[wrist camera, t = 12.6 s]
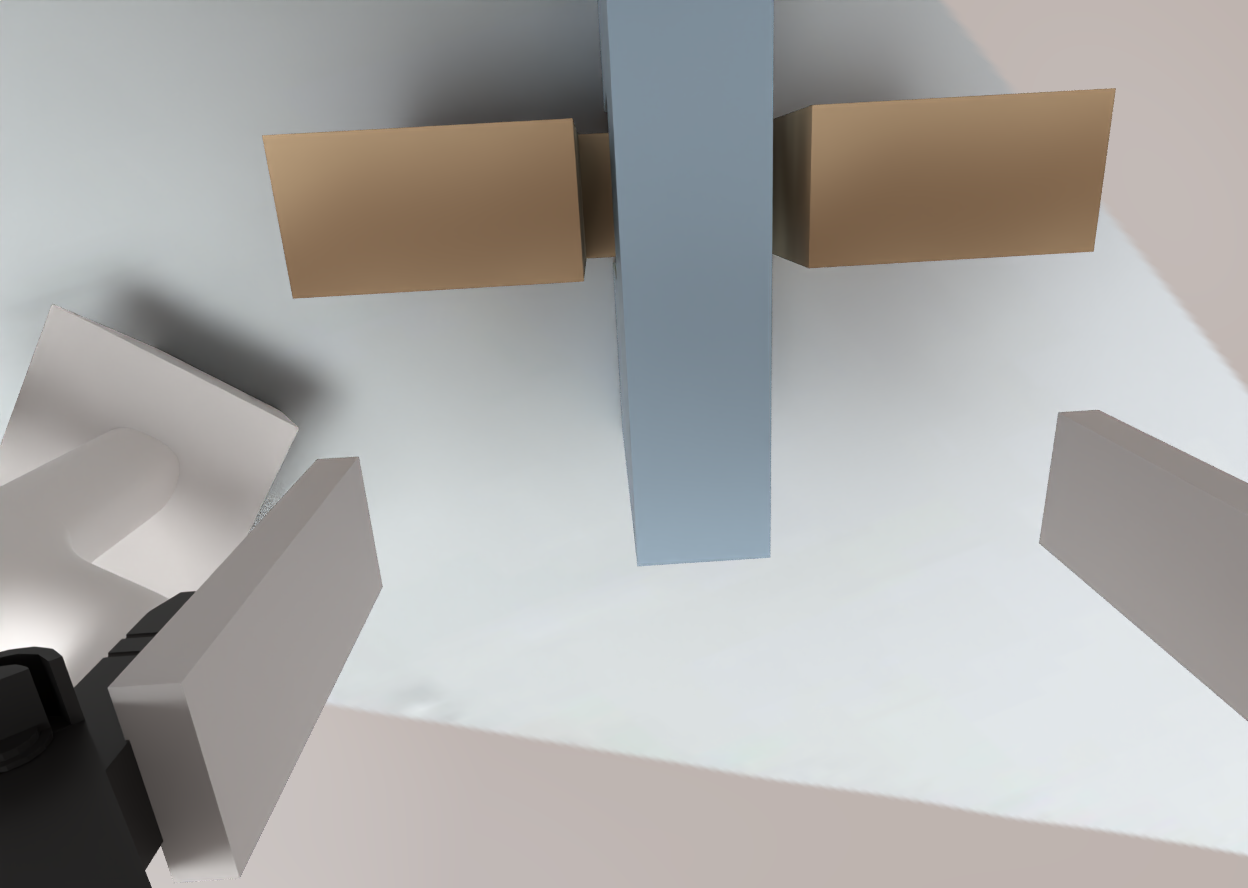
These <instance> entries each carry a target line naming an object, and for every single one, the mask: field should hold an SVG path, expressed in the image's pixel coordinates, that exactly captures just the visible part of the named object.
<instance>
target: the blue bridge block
mask: <svg viewBox="0 0 1248 888" xmlns="http://www.w3.org/2000/svg"><path fill="white" fill-rule="evenodd" d="M598 12H599V30H600V47H601V64H602V82H603V99H604V112H608V130H609V147H610V165H611V183H612V200H613V218H614V236H615V253H616V262H615V263H613V272H614V289H615V306H616V324H617V341H618V358H619V376H620V393H621V410H622V427H623V439H624V448H625V457H626V466H627V475H628V484H629V493H630V502H631V511H632V520H633V529H634V538H635V547H636V556H637V565H638V566H649V565H664V564H679V563H695V562H710V561H725V560H740V559H756V558H770V518H771V357H772V197H773V36H774V0H598Z"/></svg>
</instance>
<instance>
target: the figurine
mask: <svg viewBox="0 0 1248 888" xmlns="http://www.w3.org/2000/svg"><path fill="white" fill-rule="evenodd" d="M298 430H299V427H297V426H296V425H295V424H294V423H293V422H292V421H291V420H290V419H289V418H288V417H287V416H286V415H285V414H284V413H283V412H282V411H280V410H278V409H276V408H274V407H272V406H270V405H268V404H266V403H264V402H262V401H260V400H258V399H256V398H254V397H252V396H250V395H248V394H246V393H244V392H243V391H241V390H239V389H237V388H235V387H233V386H231V385H229V384H227V383H225V382H223V381H221V380H219V379H217V378H215V377H213V376H211V375H209V374H207V373H205V372H203V371H201V370H199V369H197V368H195V367H193V366H191V365H189V364H187V363H185V362H183V361H181V360H179V359H177V358H175V357H173V356H171V355H170V354H168V353H166V352H164V351H162V350H160V349H158V348H156V347H153V346H151V345H149V344H146V343H144V342H141V341H139V340H137V339H134V338H132V337H130V336H127V335H125V334H123V333H120V332H118V331H116V330H113V329H111V328H109V327H106V326H104V325H102V324H99V323H97V322H94V321H92V320H90V319H87V318H85V317H83V316H80V315H78V314H76V313H73V312H71V311H69V310H66V309H64V308H62V307H59V306H57V305H55V304H52V305H51V308H50V310H49V313H48V316H47V319H46V321H45V324H44V327H43V330H42V332H41V335H40V338H39V341H38V343H37V346H36V349H35V352H34V354H33V357H32V360H31V363H30V365H29V368H28V371H27V374H26V376H25V379H24V382H23V385H22V387H21V390H20V393H19V396H18V398H17V401H16V404H15V407H14V409H13V412H12V415H11V418H10V420H9V423H8V426H7V428H6V431H5V434H4V437H3V439H2V442H1V445H0V652H2V651H5V650H9V649H17V648H25V647H33V646H36V647H44V648H52V649H54V650H55V651H57V652H58V653H59V654H60V655H62V656H63V659H64V662H65V665H66V668H67V670H68V673H69V676H70V679H71V682H72V684H73V687H75V686H76V685H77V684H78V683H79V682H80V681H81V680H82V679H83V678H84V677H85V676H86V675H87V674H88V673H89V672H90V671H91V670H92V669H93V668H94V667H95V666H96V665H97V664H98V663H99V661H100V660H101V659H102V658H105V657H108V652H109V651H110V650H111V649H112V648H113V647H114V646H115V645H116V644H117V643H118V642H119V641H120V640H121V639H125V638H126V634H127V633H128V632H129V631H130V630H131V629H132V628H133V627H134V626H135V625H136V624H137V623H138V622H139V621H140V620H141V619H142V618H143V617H144V616H145V615H146V614H147V613H148V612H149V611H151V610H152V609H154V608H156V607H157V606H159V605H160V604H162V603H164V602H165V601H167V600H169V599H170V598H172V597H174V596H175V595H177V594H179V593H180V592H190V591H197V590H198V589H199V588H200V586H201V585H202V584H203V583H204V582H205V581H206V580H207V579H208V578H209V577H210V576H211V574H212V573H213V572H214V571H215V570H216V569H217V568H218V567H219V566H220V565H221V564H222V562H223V561H224V560H225V559H226V558H227V557H228V556H229V555H230V554H231V553H232V552H233V550H234V549H235V548H236V547H237V546H238V545H239V544H240V543H241V542H242V541H243V540H244V539H245V537H246V536H247V535H248V534H249V532H250V530H251V528H252V526H253V523H254V521H255V519H256V517H257V515H258V513H259V511H260V509H261V507H262V505H263V503H264V501H265V499H266V496H267V494H268V492H269V490H270V488H271V486H272V484H273V482H274V480H275V478H276V476H277V474H278V472H279V470H280V467H281V465H282V463H283V461H284V459H285V457H286V455H287V453H288V451H289V449H290V447H291V445H292V443H293V440H294V438H295V436H296V434H297V432H298Z"/></svg>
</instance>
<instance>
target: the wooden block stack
mask: <svg viewBox="0 0 1248 888" xmlns="http://www.w3.org/2000/svg"><path fill="white" fill-rule="evenodd" d="M1115 90H1116V89H1115V88H1113V89H1112V88H1111V89H1094V90H1075V91H1058V92H1040V93H1021V94H1003V95H985V96H967V97H949V98H930V99H912V100H894V101H876V102H858V103H840V104H822V105H811V106H808V107H806V108H803V109H800V110H797V111H795V112H792V113H789V114H786V115H784V116H781V117H778V118H775V119H773V197H772V254H774V255H777V256H779V257H782V258H784V259H787V260H789V261H792V262H795V263H797V264H800V265H802V266H805V267H807V268H820V267H837V266H854V265H871V264H888V263H906V262H923V261H940V260H957V259H974V258H991V257H1008V256H1025V255H1042V254H1059V253H1076V252H1093V251H1094V245H1095V237H1096V230H1097V223H1098V215H1099V208H1100V200H1101V193H1102V185H1103V178H1104V171H1105V163H1106V156H1107V149H1108V141H1109V134H1110V127H1111V119H1112V112H1113V104H1114V97H1115ZM262 137H263V142H264V148H265V153H266V158H267V164H268V169H269V174H270V180H271V185H272V190H273V196H274V201H275V206H276V211H277V217H278V222H279V227H280V233H281V238H282V243H283V249H284V254H285V259H286V264H287V270H288V275H289V280H290V286H291V291H292V296H293V298H310V297H327V296H344V295H361V294H378V293H395V292H412V291H429V290H446V289H463V288H480V287H497V286H514V285H531V284H548V283H565V282H582V281H584V275H585V266H586V258H603V257H616V253H615V236H614V218H613V200H612V183H611V165H610V147H609V133H595V134H578V133H577V130H576V127H575V124H574V121H573V119H572V118H569V119H551V120H533V121H515V122H497V123H479V124H461V125H443V126H425V127H407V128H389V129H371V130H353V131H335V132H317V133H299V134H280V135H262Z"/></svg>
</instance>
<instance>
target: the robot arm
mask: <svg viewBox="0 0 1248 888" xmlns="http://www.w3.org/2000/svg"><path fill="white" fill-rule="evenodd" d="M1039 543H1040V544H1041V545H1042V546H1043V547H1044V548H1045V549H1047V550H1048V551H1049V552H1050V553H1051V554H1052V555H1054V556H1055V557H1056V558H1057V559H1058V560H1059V561H1061V562H1062V563H1063V564H1064V565H1065V566H1066V567H1068V568H1069V569H1070V570H1071V571H1072V572H1073V573H1075V574H1076V575H1077V576H1078V577H1079V578H1080V579H1082V580H1083V581H1084V582H1085V583H1086V584H1088V585H1089V586H1090V587H1091V588H1092V589H1093V590H1095V591H1096V592H1097V593H1098V594H1099V595H1100V596H1102V597H1103V598H1104V599H1105V600H1106V601H1107V602H1109V603H1110V604H1111V605H1112V606H1113V607H1114V608H1116V609H1117V610H1118V611H1119V612H1120V613H1121V614H1123V615H1124V616H1125V617H1126V618H1127V619H1128V620H1130V621H1131V622H1132V623H1133V624H1134V625H1136V626H1137V627H1138V628H1139V629H1140V630H1141V631H1143V632H1144V633H1145V634H1146V635H1147V636H1148V637H1150V638H1151V639H1152V640H1153V641H1154V642H1155V643H1157V644H1158V645H1159V646H1160V647H1161V648H1162V649H1164V650H1165V651H1166V652H1167V653H1168V654H1169V655H1171V656H1172V657H1173V658H1174V659H1175V660H1176V661H1178V662H1179V663H1180V664H1181V665H1182V666H1184V667H1185V668H1186V669H1187V670H1188V671H1189V672H1191V673H1192V674H1193V675H1194V676H1195V677H1196V678H1198V679H1199V680H1200V681H1201V682H1202V683H1203V684H1205V685H1206V686H1207V687H1208V688H1209V689H1210V690H1212V691H1213V692H1214V693H1215V694H1216V695H1217V696H1219V697H1220V698H1221V699H1222V700H1223V701H1224V702H1226V703H1227V704H1228V705H1229V706H1230V707H1232V708H1233V709H1234V710H1235V711H1236V712H1237V713H1239V714H1240V715H1241V716H1242V717H1243V718H1244V719H1246V720H1247V721H1248V483H1246V482H1244V481H1242V480H1240V479H1238V478H1236V477H1234V476H1232V475H1230V474H1228V473H1226V472H1224V471H1222V470H1220V469H1218V468H1216V467H1214V466H1211V465H1209V464H1207V463H1205V462H1203V461H1201V460H1199V459H1197V458H1195V457H1193V456H1191V455H1189V454H1187V453H1185V452H1183V451H1181V450H1179V449H1177V448H1175V447H1173V446H1171V445H1169V444H1167V443H1165V442H1163V441H1161V440H1159V439H1157V438H1155V437H1152V436H1150V435H1148V434H1146V433H1144V432H1142V431H1140V430H1138V429H1136V428H1134V427H1132V426H1130V425H1128V424H1126V423H1124V422H1122V421H1120V420H1118V419H1116V418H1114V417H1112V416H1110V415H1108V414H1106V413H1104V412H1102V411H1100V410H1089V411H1073V412H1058V418H1057V425H1056V432H1055V439H1054V445H1053V452H1052V459H1051V466H1050V473H1049V479H1048V486H1047V493H1046V500H1045V507H1044V513H1043V520H1042V527H1041V534H1040V541H1039ZM382 587H383V586H382V581H381V575H380V570H379V564H378V559H377V553H376V548H375V542H374V537H373V532H372V526H371V521H370V515H369V510H368V504H367V499H366V493H365V488H364V482H363V477H362V471H361V466H360V460H359V457H345V458H329V459H317V460H316V461H315V462H314V463H313V464H312V466H311V467H310V468H309V469H308V470H307V471H306V472H305V473H304V474H303V475H302V476H301V477H300V479H299V480H298V481H297V482H296V483H295V484H294V485H293V486H292V487H291V488H290V489H289V491H288V492H287V493H286V494H285V495H284V496H283V497H282V498H281V499H280V500H279V501H278V503H277V504H276V505H275V506H274V507H273V508H272V509H271V510H270V511H269V512H268V513H267V515H266V516H265V517H264V518H263V519H262V520H261V521H260V522H259V523H258V524H257V525H256V527H255V528H254V529H253V530H252V531H251V532H250V533H249V534H248V535H247V536H246V537H245V539H244V540H243V541H242V542H241V543H240V544H239V545H238V546H237V547H236V548H235V549H234V550H233V552H232V553H231V554H230V555H229V556H228V557H227V558H226V559H225V560H224V561H223V562H222V564H221V565H220V566H219V567H218V568H217V569H216V570H215V571H214V572H213V573H212V574H211V576H210V577H209V578H208V579H207V580H206V581H205V582H204V583H203V584H202V585H201V586H200V588H199V589H198V590H197V591H190V592H180V593H179V594H177V595H175V596H174V597H172V598H170V599H169V600H167V601H165V602H164V603H162V604H160V605H159V606H157V607H156V608H154V609H152V610H151V611H149V612H148V613H147V614H146V615H145V616H144V617H143V618H142V619H141V620H140V621H139V622H138V623H137V624H136V625H135V626H134V627H133V628H132V629H131V630H130V631H129V632H128V633H127V634H126V638H125V639H121V640H120V641H119V642H118V643H117V644H116V645H115V646H114V647H113V648H112V649H111V650H110V651H109V652H108V657H105V658H102V659H101V660H100V661H99V663H98V664H97V665H96V666H95V667H94V668H93V669H92V670H91V671H90V672H89V673H88V674H87V675H86V676H85V677H84V678H83V679H82V680H81V681H80V682H79V683H78V684H77V685H76V686H75V687H73V684H72V682H71V679H70V676H69V673H68V670H67V668H66V665H65V662H64V659H63V656H62V655H60V654H59V653H58V652H57V651H55V650H54V649H52V648H44V647H36V646H33V647H25V648H17V649H9V650H5V651H2V652H0V888H152V887H151V885H150V882H149V880H148V877H147V874H146V872H145V870H146V868H147V867H148V865H149V863H150V862H151V860H152V859H153V857H154V855H155V854H156V852H157V850H158V849H159V847H160V846H161V847H162V850H163V853H164V856H165V858H166V861H167V864H168V867H169V870H170V873H171V876H172V879H173V882H174V883H182V882H196V881H210V880H223V879H237V878H240V877H241V875H242V873H243V871H244V869H245V867H246V864H247V863H248V860H249V858H250V856H251V854H252V852H253V850H254V848H255V846H256V844H257V842H258V840H259V838H260V836H261V834H262V832H263V830H264V828H265V826H266V824H267V822H268V820H269V817H270V815H271V814H272V811H273V809H274V807H275V805H276V803H277V801H278V799H279V797H280V795H281V793H282V791H283V789H284V787H285V785H286V783H287V781H288V779H289V777H290V775H291V773H292V770H293V768H294V766H295V765H296V762H297V760H298V758H299V756H300V754H301V752H302V750H303V748H304V746H305V744H306V742H307V740H308V738H309V736H310V734H311V732H312V729H313V728H314V726H315V724H316V722H317V720H318V718H319V715H320V713H321V711H322V709H323V707H324V705H325V703H326V701H327V699H328V697H329V695H330V693H331V691H332V689H333V687H334V685H335V683H336V681H337V679H338V677H339V675H340V673H341V671H342V669H343V667H344V664H345V662H346V660H347V658H348V656H349V654H350V652H351V650H352V648H353V646H354V644H355V642H356V640H357V638H358V636H359V634H360V632H361V630H362V628H363V626H364V624H365V622H366V620H367V618H368V615H369V613H370V611H371V609H372V607H373V605H374V603H375V601H376V599H377V597H378V595H379V593H380V591H381V589H382Z"/></svg>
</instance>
